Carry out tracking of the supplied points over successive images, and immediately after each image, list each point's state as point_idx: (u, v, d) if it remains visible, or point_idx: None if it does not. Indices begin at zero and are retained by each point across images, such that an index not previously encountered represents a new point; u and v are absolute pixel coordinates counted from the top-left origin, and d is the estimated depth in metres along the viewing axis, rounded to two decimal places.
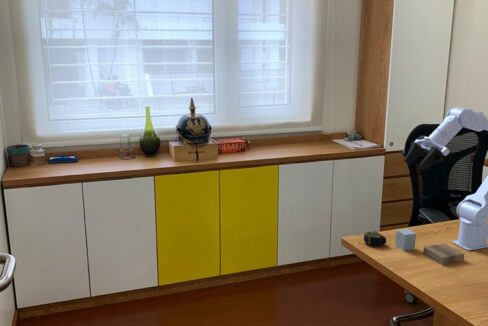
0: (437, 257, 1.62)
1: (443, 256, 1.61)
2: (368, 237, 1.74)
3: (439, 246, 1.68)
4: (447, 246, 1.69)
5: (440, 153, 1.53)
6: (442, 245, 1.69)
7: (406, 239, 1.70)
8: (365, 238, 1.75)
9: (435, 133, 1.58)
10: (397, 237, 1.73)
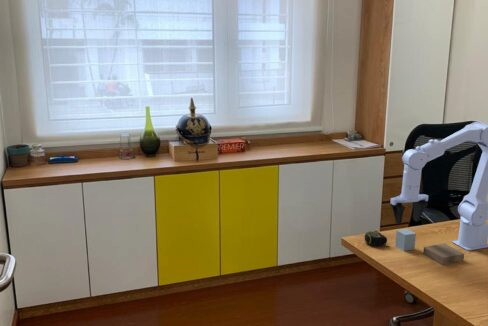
0: (437, 257, 1.62)
1: (443, 256, 1.61)
2: (369, 237, 1.74)
3: (439, 246, 1.68)
4: (447, 246, 1.69)
5: (393, 204, 1.67)
6: (442, 245, 1.69)
7: (406, 239, 1.70)
8: (366, 238, 1.75)
9: None
10: (397, 237, 1.73)
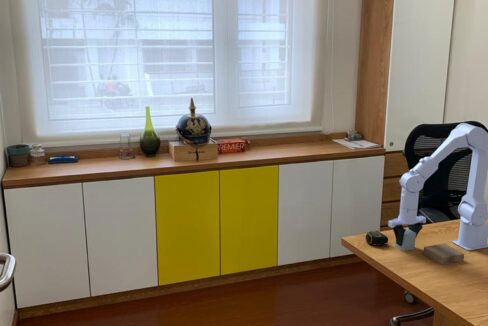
0: (437, 257, 1.62)
1: (443, 256, 1.61)
2: (370, 237, 1.74)
3: (439, 246, 1.68)
4: (447, 246, 1.69)
5: (394, 226, 1.70)
6: (442, 245, 1.69)
7: (406, 239, 1.70)
8: (367, 238, 1.75)
9: None
10: None
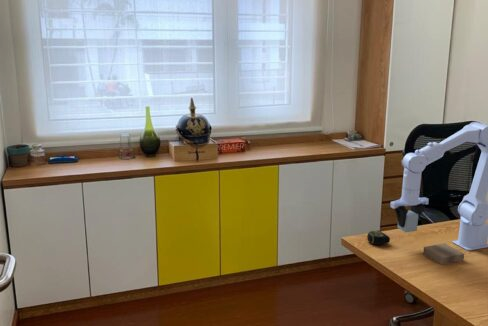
0: (437, 257, 1.62)
1: (443, 256, 1.61)
2: (371, 236, 1.75)
3: (439, 246, 1.68)
4: (447, 246, 1.69)
5: (396, 207, 1.68)
6: (442, 245, 1.69)
7: (408, 220, 1.68)
8: (368, 237, 1.76)
9: None
10: None
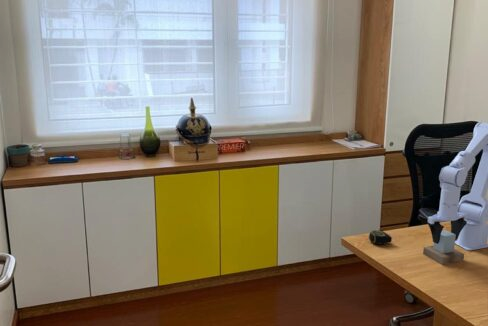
0: (437, 257, 1.62)
1: (443, 256, 1.61)
2: (373, 236, 1.75)
3: None
4: None
5: (431, 223, 1.61)
6: None
7: (446, 240, 1.62)
8: (370, 237, 1.76)
9: None
10: None
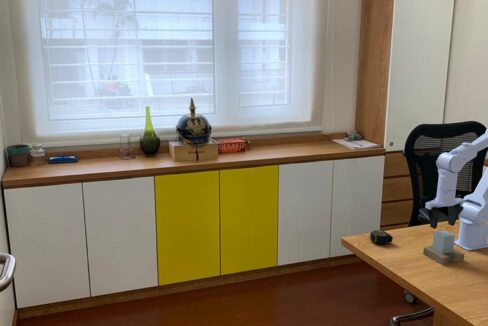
0: (437, 257, 1.62)
1: (443, 256, 1.61)
2: (374, 235, 1.75)
3: None
4: None
5: (429, 209, 1.64)
6: None
7: (445, 241, 1.62)
8: (371, 236, 1.76)
9: None
10: (434, 239, 1.65)
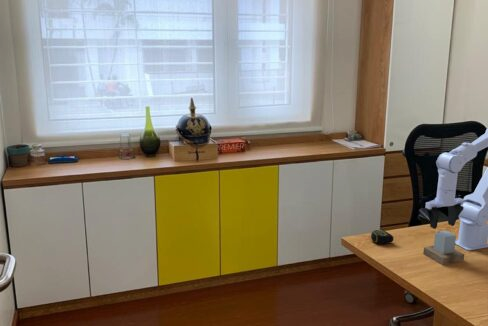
0: (437, 257, 1.62)
1: (443, 256, 1.61)
2: (375, 235, 1.75)
3: None
4: None
5: (429, 209, 1.64)
6: None
7: (446, 241, 1.62)
8: (372, 236, 1.77)
9: None
10: (436, 239, 1.65)
